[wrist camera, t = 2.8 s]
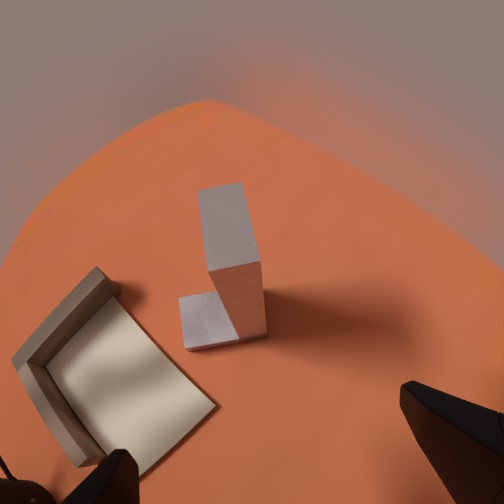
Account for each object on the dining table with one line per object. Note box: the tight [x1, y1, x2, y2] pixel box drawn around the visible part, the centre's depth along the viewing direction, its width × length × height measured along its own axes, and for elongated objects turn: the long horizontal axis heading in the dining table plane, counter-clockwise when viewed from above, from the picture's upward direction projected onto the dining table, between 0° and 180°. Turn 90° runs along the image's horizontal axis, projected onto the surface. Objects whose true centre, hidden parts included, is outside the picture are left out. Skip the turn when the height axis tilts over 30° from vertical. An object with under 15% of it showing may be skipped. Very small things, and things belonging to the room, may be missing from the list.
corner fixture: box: [11, 266, 216, 477], centre depth 20 cm, size 14×12×3 cm
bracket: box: [179, 182, 267, 351], centre depth 18 cm, size 4×6×12 cm, turn 101°
